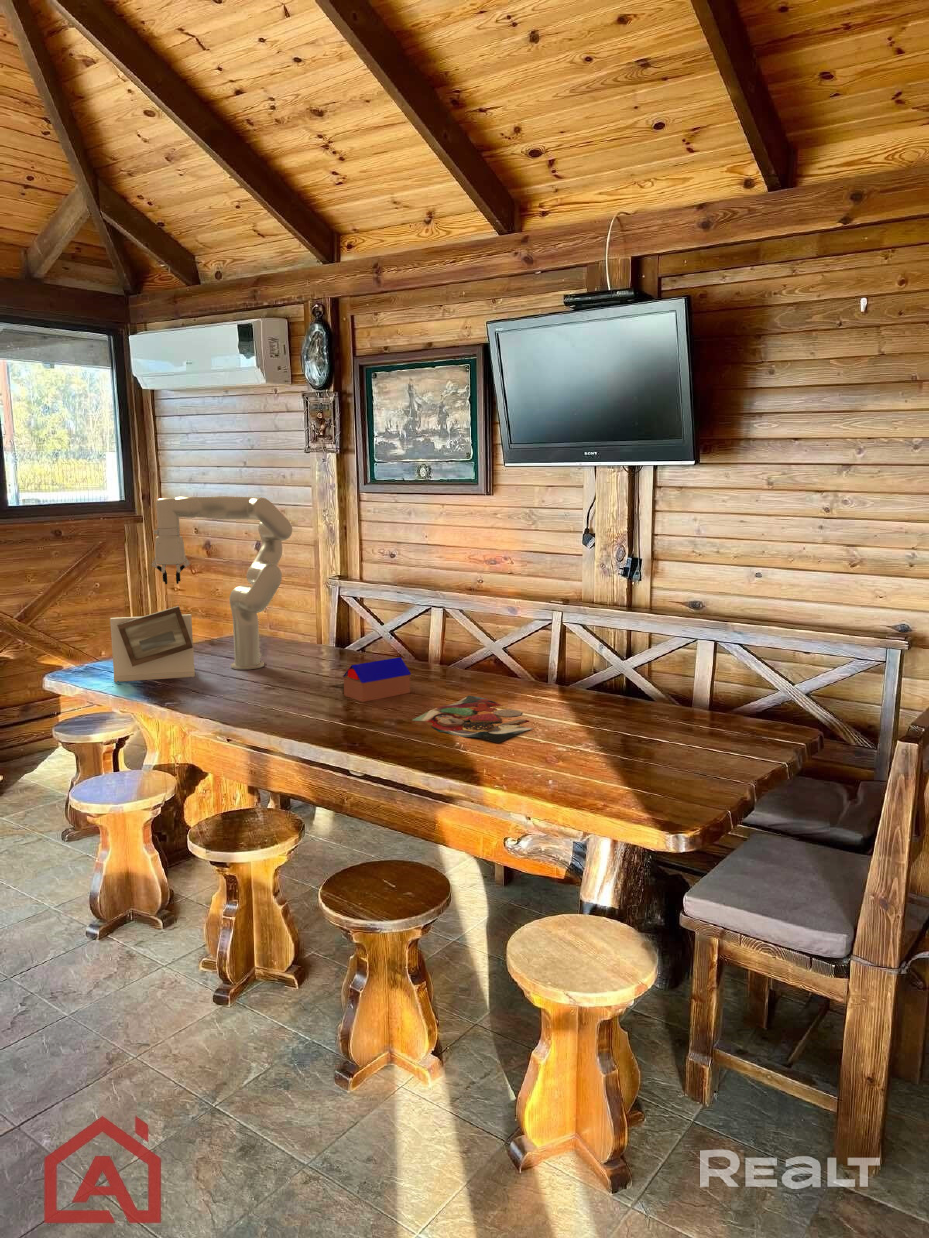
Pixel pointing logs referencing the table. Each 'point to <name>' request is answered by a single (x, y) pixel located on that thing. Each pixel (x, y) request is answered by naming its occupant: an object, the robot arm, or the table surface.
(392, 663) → the house
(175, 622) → the picture frame
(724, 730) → the table surface
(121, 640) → the display board
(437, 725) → the platter
